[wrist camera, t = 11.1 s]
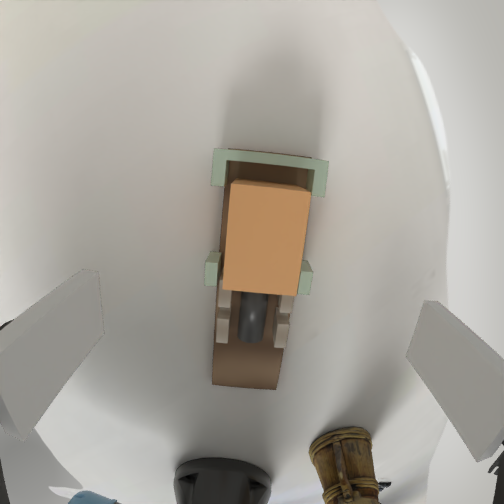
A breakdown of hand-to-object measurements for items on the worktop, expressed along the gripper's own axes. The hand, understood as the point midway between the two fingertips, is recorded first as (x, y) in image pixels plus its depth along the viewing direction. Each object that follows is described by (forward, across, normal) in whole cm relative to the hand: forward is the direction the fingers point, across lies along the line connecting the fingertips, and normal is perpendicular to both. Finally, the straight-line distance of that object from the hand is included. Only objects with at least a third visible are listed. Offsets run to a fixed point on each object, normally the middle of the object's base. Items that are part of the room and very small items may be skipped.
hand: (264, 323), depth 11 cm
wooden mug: (+18, -14, +27) cm, 35 cm away
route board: (+17, 0, +5) cm, 18 cm away
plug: (+16, 0, +2) cm, 16 cm away
